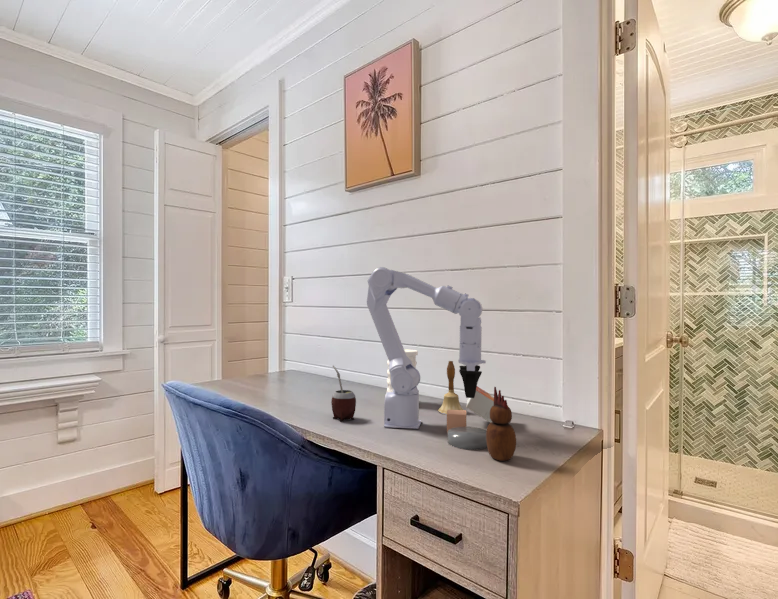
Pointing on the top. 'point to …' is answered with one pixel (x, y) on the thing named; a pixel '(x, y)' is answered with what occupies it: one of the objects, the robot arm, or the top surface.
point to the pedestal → (467, 437)
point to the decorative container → (412, 356)
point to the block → (456, 419)
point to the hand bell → (450, 392)
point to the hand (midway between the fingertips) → (469, 394)
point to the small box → (481, 404)
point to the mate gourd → (343, 403)
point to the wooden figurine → (500, 430)
